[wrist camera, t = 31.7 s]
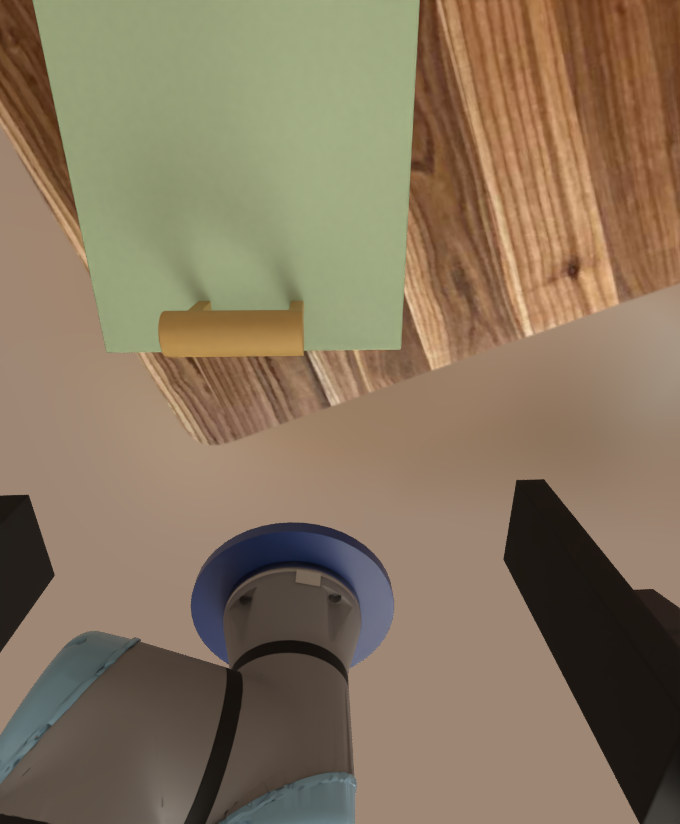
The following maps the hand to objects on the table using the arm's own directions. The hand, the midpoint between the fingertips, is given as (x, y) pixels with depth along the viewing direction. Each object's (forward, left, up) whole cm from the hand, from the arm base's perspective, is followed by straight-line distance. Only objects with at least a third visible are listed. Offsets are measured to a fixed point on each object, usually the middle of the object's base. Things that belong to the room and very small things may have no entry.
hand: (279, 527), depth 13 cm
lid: (+11, +3, -16) cm, 20 cm away
